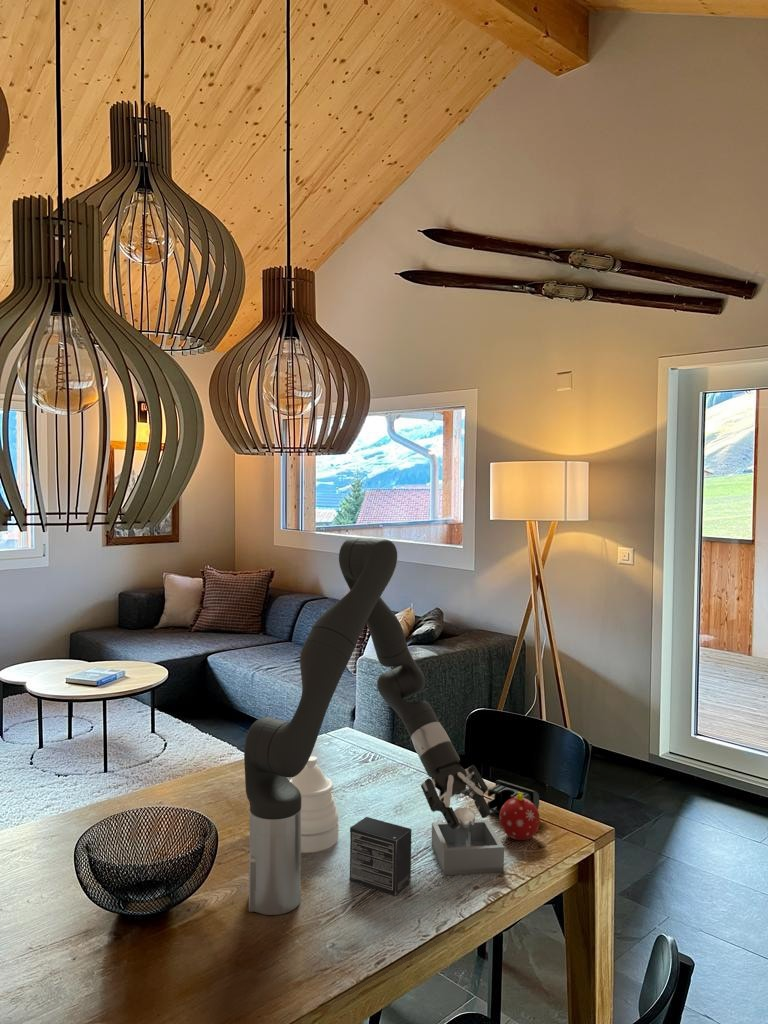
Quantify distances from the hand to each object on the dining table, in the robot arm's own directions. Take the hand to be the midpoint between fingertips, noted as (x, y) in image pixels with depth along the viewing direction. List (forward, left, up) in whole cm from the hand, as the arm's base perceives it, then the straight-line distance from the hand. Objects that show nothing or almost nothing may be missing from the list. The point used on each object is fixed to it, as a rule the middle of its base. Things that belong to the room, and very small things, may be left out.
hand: (471, 821), depth 154 cm
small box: (-19, -5, -8) cm, 22 cm away
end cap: (+15, +20, -8) cm, 26 cm away
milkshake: (-1, +1, -7) cm, 7 cm away
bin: (-1, +1, -8) cm, 8 cm away
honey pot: (-32, +14, -8) cm, 36 cm away
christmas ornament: (+13, +9, -8) cm, 18 cm away
